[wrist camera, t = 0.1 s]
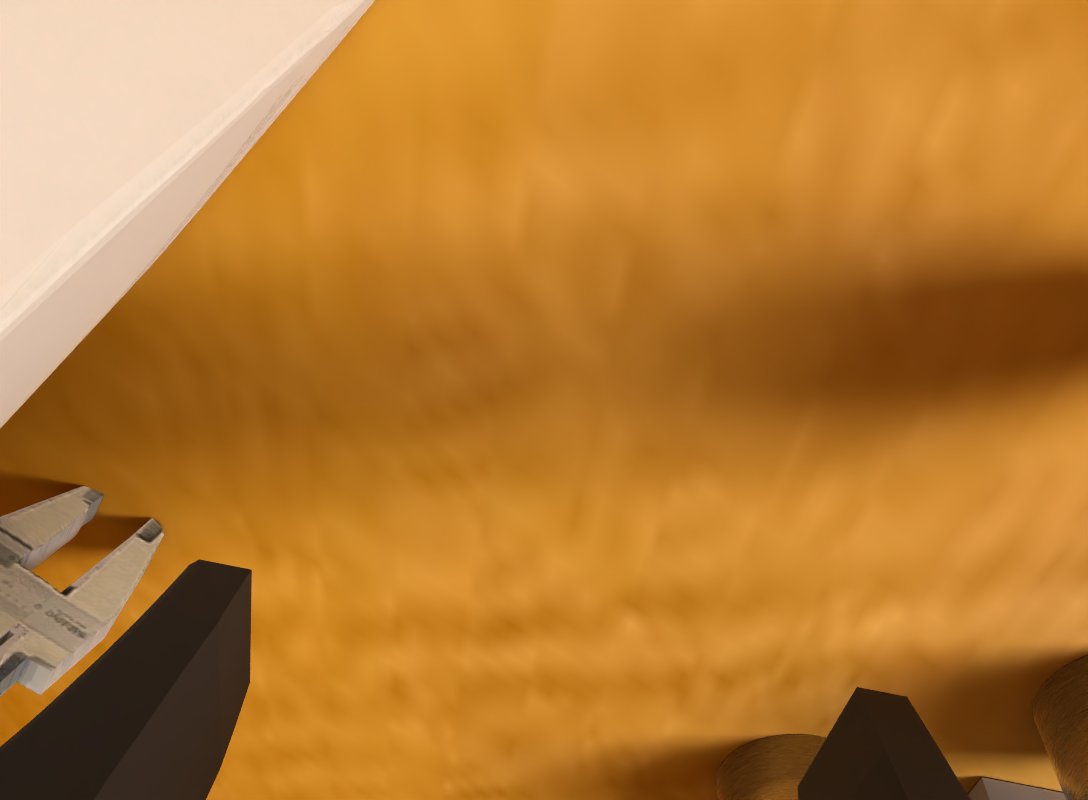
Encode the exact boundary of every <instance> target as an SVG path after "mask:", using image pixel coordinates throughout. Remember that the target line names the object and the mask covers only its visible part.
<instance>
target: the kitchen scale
mask: <svg viewBox="0 0 1088 800" xmlns="http://www.w3.org/2000/svg"><path fill="white" fill-rule="evenodd" d="M968 796H969V798H970V800H1066V798H1065V795H1064V793H1062V792H1056V791H1051V790H1046V789H1041V788H1036V787H1030V786H1025V785H1020V784H1015V783H1010V782H1005V781H999V780H994V779H989V778H984V777H982V778H981V779H980V780H979V781H978V783H977V784H976V785H975V786H974V788H973V789H972V790H971V792H970V793H969V794H968Z"/></svg>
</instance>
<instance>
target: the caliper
mask: <svg viewBox="0 0 1088 800" xmlns="http://www.w3.org/2000/svg"><path fill="white" fill-rule="evenodd" d="M103 496H104V494H101V493H99V492H97V491H95V490H93V489H91V488H89V487H86V486H81V487H79V488H76V489H73V490H71V491H68V492H65V493H63V494H60V495H57V496H55V497H52V498H49V499H47V500H44V501H41V502H39V503H36V504H33V505H31V506H28V507H25V508H23V509H20V510H17V511H14V512H12V513H9V514H6V515H4V516H1V517H0V696H2V695H3V694H4V693H5V692H6V691H7V690H8V689H9V688H10V687H11V686H12V685H14V684H15V683H16V682H18V683H19V684H21V685H23V686H25V687H27V688H28V689H30V690H32V691H34V692H36V693H37V694H39V695H41V694H42V693H43V692H44V691H45V690H46V689H48V688H49V687H50V686H51V685H52V684H53V683H54V682H56V681H57V680H58V679H59V678H60V677H61V676H62V675H63V674H65V673H66V672H67V671H68V670H69V669H70V668H71V667H73V666H74V665H75V664H76V663H77V662H78V661H79V660H80V659H82V658H83V657H84V656H85V655H86V654H87V653H88V652H89V651H91V650H92V649H93V648H94V647H95V646H96V645H97V644H98V643H100V642H101V641H102V640H103V639H104V638H105V636H106V635H107V633H108V631H109V630H110V628H111V627H112V625H113V623H114V622H115V620H116V618H117V617H118V615H119V613H120V612H121V610H122V609H123V607H124V605H125V604H126V602H127V600H128V599H129V597H130V595H131V594H132V592H133V591H134V589H135V587H136V586H137V584H138V582H139V581H140V579H141V577H142V575H143V574H144V572H145V570H146V568H147V566H148V564H149V563H150V561H151V559H152V557H153V555H154V553H155V551H156V549H157V547H158V546H159V544H160V542H161V540H162V538H163V536H164V533H163V531H162V528H161V526H160V524H159V523H157V522H156V521H155V520H154V519H153V518H151V519H150V520H149V521H148V522H147V523H146V524H145V525H143V526H142V527H141V528H140V529H139V530H138V531H137V532H136V533H134V534H133V535H132V536H131V537H130V538H128V539H127V540H126V541H125V542H123V543H122V544H121V545H120V546H119V547H117V548H116V549H115V550H114V551H112V552H111V553H110V554H109V555H107V556H106V557H105V558H104V559H102V560H101V561H100V562H99V563H97V564H96V565H95V566H94V567H92V568H91V569H90V570H89V571H87V572H86V573H85V574H84V575H82V576H81V577H80V578H79V579H78V580H76V581H75V582H74V583H73V584H71V585H70V586H69V587H68V588H66V589H65V590H64V591H63V592H59V591H58V590H57V589H55V588H54V587H53V586H52V585H50V584H49V583H48V582H46V581H45V580H44V579H42V578H40V577H39V576H37V575H36V574H34V573H33V572H31V571H32V570H33V569H34V568H36V567H37V566H38V565H39V564H41V563H42V562H43V561H45V560H46V559H47V558H48V557H50V556H51V555H52V554H54V553H55V552H56V551H57V550H59V549H60V548H61V547H63V546H64V545H65V544H66V543H68V542H69V541H70V540H72V539H73V538H74V537H75V536H76V535H77V534H78V532H79V530H80V528H81V527H82V526H84V525H85V524H87V523H88V522H89V521H91V520H92V519H93V518H94V516H95V514H96V512H97V509H98V507H99V505H100V503H101V501H102V498H103Z"/></svg>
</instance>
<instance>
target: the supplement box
mask: <svg viewBox="0 0 1088 800" xmlns="http://www.w3.org/2000/svg"><path fill="white" fill-rule="evenodd" d="M374 1H375V0H0V428H1V427H2V426H3V425H4V424H5V423H6V422H7V421H8V420H9V419H10V418H11V417H12V416H13V414H14V413H15V412H16V411H17V410H18V409H19V408H20V407H21V406H22V405H23V404H24V403H25V402H26V400H27V399H28V398H29V397H30V396H31V395H32V394H33V393H34V392H35V391H36V390H37V389H38V388H39V386H40V385H41V384H42V383H43V382H44V381H45V380H46V379H47V378H48V377H49V376H50V375H51V373H52V372H53V371H54V370H55V369H56V368H57V367H58V366H59V365H60V364H61V363H62V362H63V361H64V359H65V358H66V357H67V356H68V355H69V354H70V353H71V352H72V351H73V350H74V349H75V348H76V347H77V345H78V344H79V343H80V342H81V341H82V340H83V339H84V338H85V337H86V336H87V335H88V334H89V332H90V331H91V330H92V329H93V328H94V327H95V326H96V325H97V324H98V323H99V322H100V321H101V320H102V318H103V317H104V316H105V315H106V314H107V313H108V312H109V311H110V310H111V309H112V308H113V307H114V306H115V304H116V303H117V302H118V301H119V300H120V299H121V298H122V297H123V296H124V295H125V294H126V292H127V291H128V290H129V289H130V288H131V287H132V286H133V285H134V284H135V283H136V282H137V281H138V280H139V278H140V277H141V276H142V275H143V274H144V273H145V272H146V271H147V270H148V269H149V268H150V267H151V265H152V264H153V263H154V262H155V261H156V260H157V259H158V258H159V256H160V255H161V254H162V253H163V252H164V251H165V250H166V248H167V247H168V246H169V245H170V244H171V243H172V241H173V240H174V239H175V238H176V237H177V236H178V234H179V233H180V232H181V231H182V230H183V229H184V228H185V226H186V225H187V224H188V223H189V222H190V221H191V219H192V218H193V217H194V216H195V215H196V213H197V212H198V211H199V210H200V209H201V208H202V206H203V205H204V204H205V203H206V202H207V200H208V199H209V198H210V197H211V196H212V194H213V193H214V192H215V191H216V190H217V188H218V187H219V186H220V185H221V184H222V182H223V181H224V180H225V179H226V178H227V177H228V175H229V174H230V173H231V172H232V171H233V169H234V168H235V167H236V166H237V165H238V163H239V162H240V161H241V160H242V159H243V157H244V156H245V155H246V154H247V153H248V151H249V150H250V149H251V148H252V147H253V146H254V144H255V143H256V142H257V141H258V140H259V138H260V137H261V136H262V135H263V134H264V132H265V131H266V130H267V129H268V128H269V126H270V125H271V124H272V123H273V122H274V121H275V119H276V118H277V117H278V116H279V115H280V113H281V112H282V111H283V110H284V109H285V107H286V106H287V105H288V104H289V103H290V102H291V100H292V99H293V98H294V97H295V96H296V94H297V93H298V92H299V91H300V90H301V88H302V87H303V86H304V85H305V84H306V82H307V81H308V80H309V79H310V78H311V77H312V75H313V74H314V73H315V72H316V71H317V69H318V68H319V67H320V66H321V65H322V63H323V62H324V61H325V60H326V59H327V58H328V56H329V55H330V54H331V53H332V52H333V50H334V49H335V48H336V47H337V46H338V44H339V43H340V42H341V41H342V39H343V38H344V37H345V36H346V35H347V33H348V32H349V31H350V30H351V29H352V27H353V26H354V25H355V24H356V23H357V21H358V20H359V19H360V18H361V17H362V15H363V14H364V13H365V12H366V11H367V9H368V8H369V7H370V6H371V5H372V3H373V2H374Z"/></svg>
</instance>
